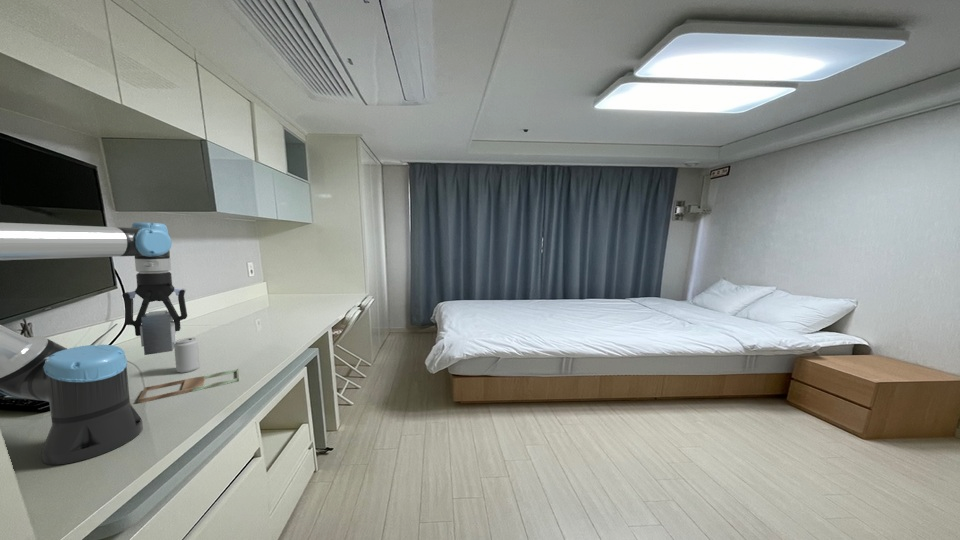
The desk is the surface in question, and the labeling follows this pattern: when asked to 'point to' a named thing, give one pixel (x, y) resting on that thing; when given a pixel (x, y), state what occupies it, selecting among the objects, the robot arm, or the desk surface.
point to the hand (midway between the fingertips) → (159, 343)
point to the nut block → (157, 332)
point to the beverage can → (186, 355)
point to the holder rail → (187, 385)
